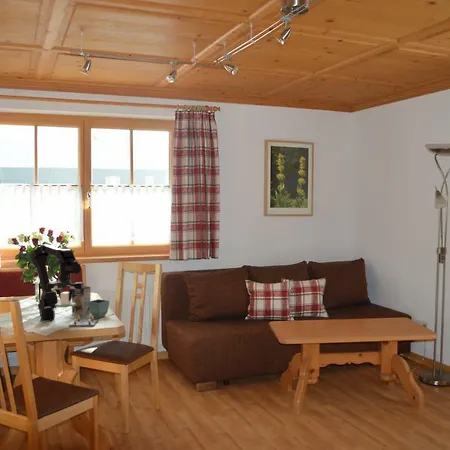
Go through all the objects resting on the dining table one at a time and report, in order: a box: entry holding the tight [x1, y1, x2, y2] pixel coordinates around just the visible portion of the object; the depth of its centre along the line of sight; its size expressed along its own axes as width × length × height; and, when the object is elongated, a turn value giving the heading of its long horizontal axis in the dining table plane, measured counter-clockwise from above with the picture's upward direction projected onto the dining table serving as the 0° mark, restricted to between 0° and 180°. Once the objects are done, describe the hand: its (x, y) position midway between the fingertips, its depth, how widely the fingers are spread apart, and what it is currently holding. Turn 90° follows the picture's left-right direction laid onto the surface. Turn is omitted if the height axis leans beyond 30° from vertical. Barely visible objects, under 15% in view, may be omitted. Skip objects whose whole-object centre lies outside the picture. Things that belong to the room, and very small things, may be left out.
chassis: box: [68, 315, 99, 328], centre depth 299 cm, size 13×13×4 cm
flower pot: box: [88, 298, 110, 318], centre depth 318 cm, size 9×9×9 cm
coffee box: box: [71, 285, 91, 316], centre depth 326 cm, size 9×6×16 cm
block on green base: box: [55, 291, 76, 308], centre depth 298 cm, size 10×10×7 cm
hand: (65, 301), depth 298 cm, fingers closed on block on green base, 4 cm apart
